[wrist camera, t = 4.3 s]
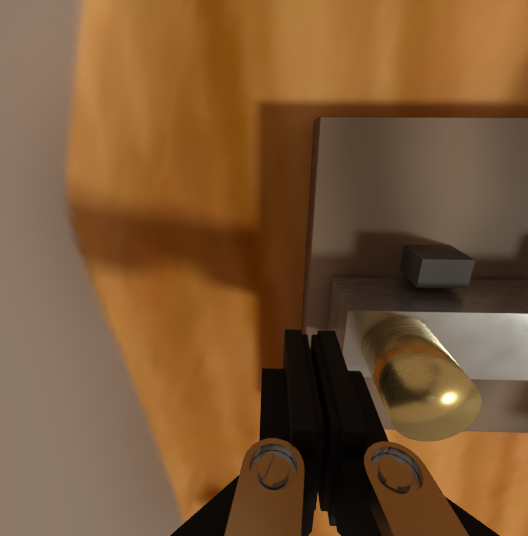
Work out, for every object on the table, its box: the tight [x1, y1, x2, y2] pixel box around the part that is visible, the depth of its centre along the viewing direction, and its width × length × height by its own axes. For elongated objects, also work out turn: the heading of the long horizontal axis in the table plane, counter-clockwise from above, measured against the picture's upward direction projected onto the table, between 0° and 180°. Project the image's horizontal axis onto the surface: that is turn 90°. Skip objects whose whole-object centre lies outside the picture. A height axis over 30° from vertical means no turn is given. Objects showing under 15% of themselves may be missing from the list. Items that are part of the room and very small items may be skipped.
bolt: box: [328, 277, 528, 441], centre depth 12 cm, size 12×3×6 cm, turn 90°
